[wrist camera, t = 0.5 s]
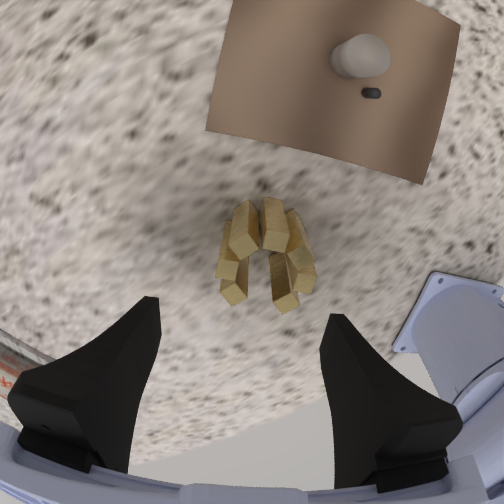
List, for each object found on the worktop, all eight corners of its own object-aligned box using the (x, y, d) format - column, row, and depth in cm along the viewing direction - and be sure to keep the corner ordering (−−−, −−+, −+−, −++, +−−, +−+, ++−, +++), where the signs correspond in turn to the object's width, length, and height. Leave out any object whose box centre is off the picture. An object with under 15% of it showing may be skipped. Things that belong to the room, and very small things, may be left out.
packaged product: (-27, 387, 25) (-45, 336, 21) (-11, 362, 30) (-22, 310, 25) (96, 454, 29) (100, 418, 24) (106, 423, 33) (114, 382, 29)
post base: (448, 27, 14) (494, 19, 9) (411, 178, 19) (451, 204, 14) (247, -40, 13) (245, -78, 8) (209, 128, 18) (193, 139, 13)
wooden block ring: (312, 206, 20) (328, 242, 15) (293, 270, 22) (302, 317, 17) (232, 190, 19) (225, 222, 15) (219, 257, 21) (210, 302, 17)
